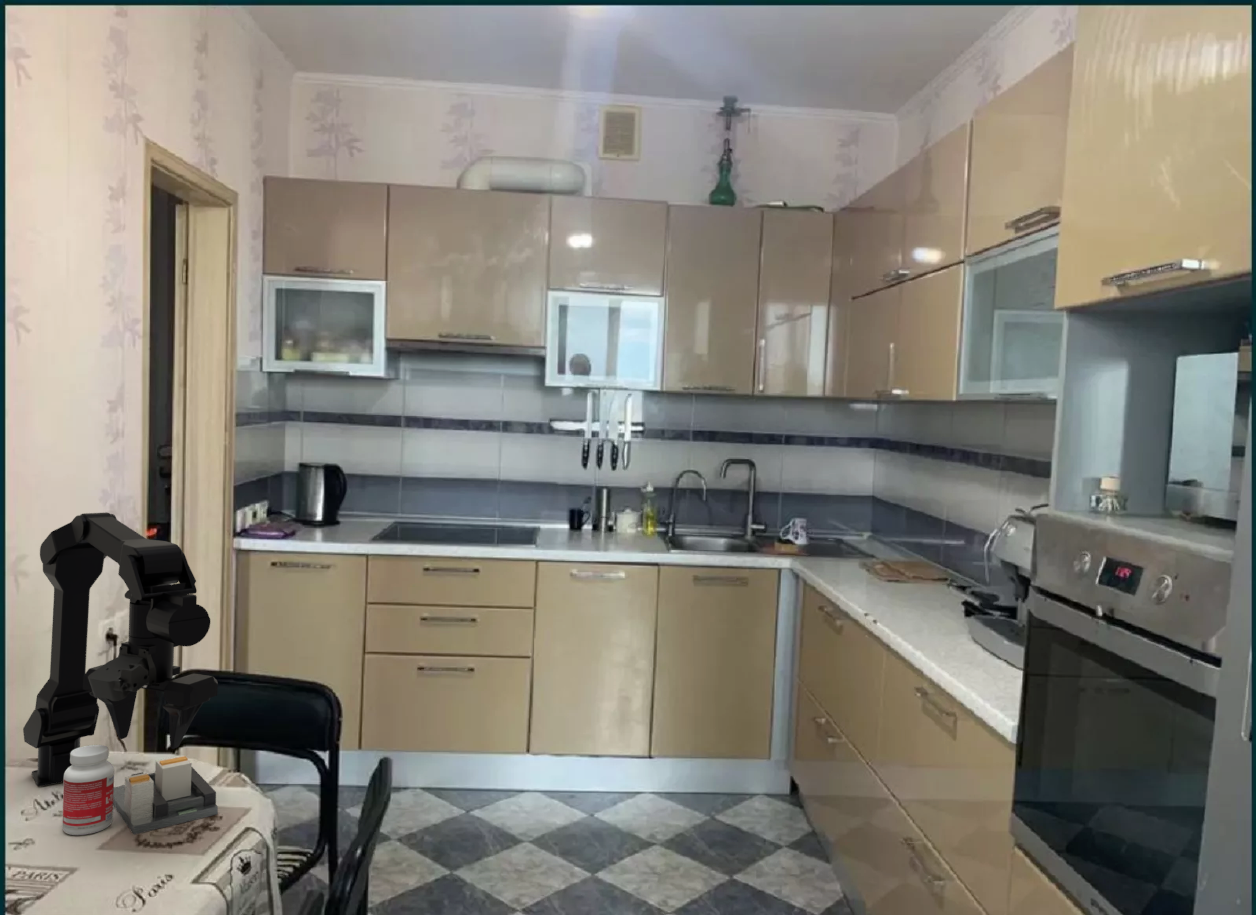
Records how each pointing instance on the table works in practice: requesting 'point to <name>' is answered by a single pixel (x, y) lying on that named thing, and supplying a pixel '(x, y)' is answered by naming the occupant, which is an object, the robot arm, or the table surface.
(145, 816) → the grey desk organizer
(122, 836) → the table surface
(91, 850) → the table surface
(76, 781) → the pill bottle
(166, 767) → the block
